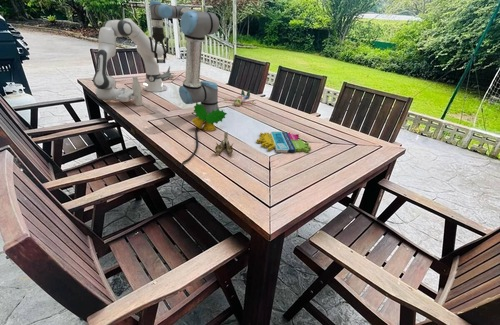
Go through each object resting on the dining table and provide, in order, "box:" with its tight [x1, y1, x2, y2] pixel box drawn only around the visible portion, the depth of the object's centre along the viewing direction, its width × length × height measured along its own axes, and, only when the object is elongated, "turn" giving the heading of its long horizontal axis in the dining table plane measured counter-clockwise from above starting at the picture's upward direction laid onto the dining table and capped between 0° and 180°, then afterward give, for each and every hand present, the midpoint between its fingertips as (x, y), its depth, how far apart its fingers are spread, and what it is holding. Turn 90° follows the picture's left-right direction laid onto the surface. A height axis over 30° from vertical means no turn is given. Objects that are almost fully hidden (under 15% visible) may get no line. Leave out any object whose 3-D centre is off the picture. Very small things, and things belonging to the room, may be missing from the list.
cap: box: [158, 58, 165, 64], centre depth 190 cm, size 4×4×2 cm
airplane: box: [160, 65, 176, 81], centre depth 271 cm, size 38×32×10 cm
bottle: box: [131, 75, 144, 107], centre depth 192 cm, size 6×6×20 cm
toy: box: [223, 89, 257, 106], centre depth 219 cm, size 28×7×30 cm
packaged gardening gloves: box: [256, 131, 312, 154], centre depth 152 cm, size 26×2×30 cm
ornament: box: [191, 102, 228, 132], centre depth 162 cm, size 21×8×15 cm, turn 105°
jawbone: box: [214, 131, 234, 156], centre depth 136 cm, size 9×15×10 cm
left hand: (138, 96), depth 194 cm, fingers closed on bottle, 5 cm apart
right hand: (161, 62), depth 191 cm, fingers closed on cap, 4 cm apart
